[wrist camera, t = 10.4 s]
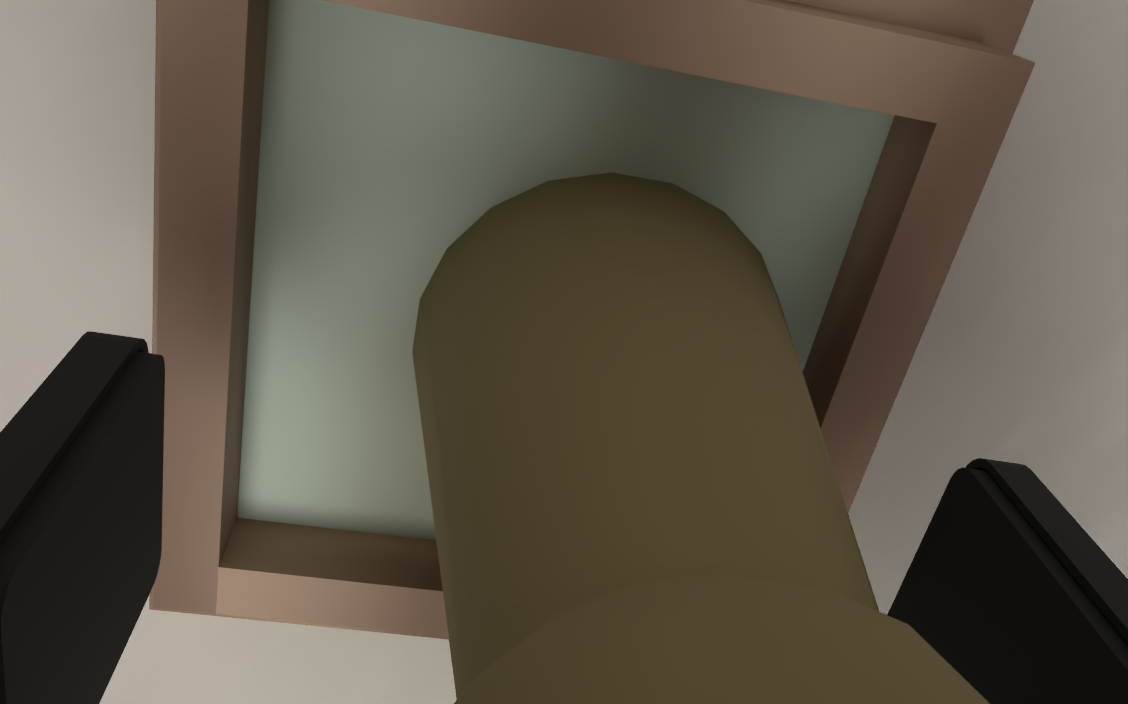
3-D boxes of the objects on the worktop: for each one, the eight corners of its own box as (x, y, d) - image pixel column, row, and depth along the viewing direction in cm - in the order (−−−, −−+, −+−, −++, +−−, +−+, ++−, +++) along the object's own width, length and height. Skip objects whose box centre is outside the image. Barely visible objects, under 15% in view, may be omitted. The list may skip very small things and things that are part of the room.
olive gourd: (405, 168, 14) (213, 898, 4) (809, 175, 14) (1479, 849, 5) (417, 504, 17) (318, 1415, 7) (755, 501, 17) (1104, 1347, 7)
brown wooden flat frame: (962, -74, 16) (1121, -51, 12) (730, 572, 22) (783, 730, 18) (221, -250, 14) (116, -290, 10) (193, 510, 20) (121, 671, 16)
